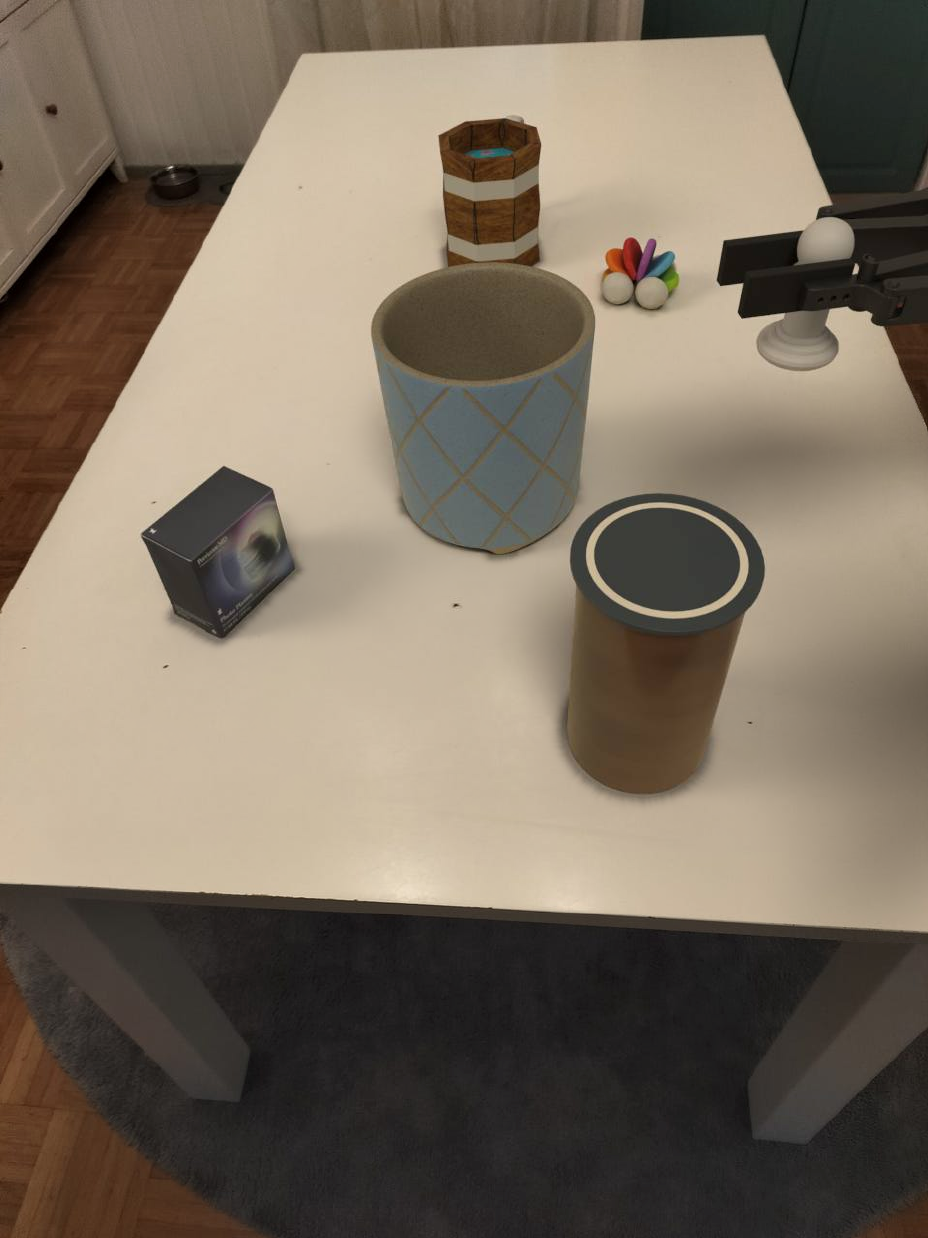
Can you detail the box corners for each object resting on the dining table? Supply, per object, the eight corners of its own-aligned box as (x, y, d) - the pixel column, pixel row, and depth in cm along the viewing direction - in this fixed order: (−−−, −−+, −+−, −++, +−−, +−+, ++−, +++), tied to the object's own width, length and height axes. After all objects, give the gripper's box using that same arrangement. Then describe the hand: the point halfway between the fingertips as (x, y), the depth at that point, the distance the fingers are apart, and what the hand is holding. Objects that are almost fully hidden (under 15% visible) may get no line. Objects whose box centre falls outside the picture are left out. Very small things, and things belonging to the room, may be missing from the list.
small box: (224, 643, 79) (190, 562, 71) (172, 615, 82) (134, 534, 74) (299, 568, 85) (275, 486, 77) (249, 544, 87) (221, 462, 79)
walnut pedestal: (734, 757, 69) (793, 586, 54) (614, 817, 66) (641, 656, 51) (653, 659, 76) (685, 482, 60) (542, 710, 73) (545, 539, 57)
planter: (359, 512, 89) (324, 338, 74) (471, 414, 99) (461, 241, 83) (512, 591, 81) (508, 414, 66) (619, 477, 91) (638, 298, 75)
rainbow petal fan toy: (610, 272, 116) (614, 217, 111) (683, 282, 114) (691, 227, 108) (592, 305, 112) (596, 250, 106) (668, 317, 109) (676, 261, 103)
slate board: (805, 589, 54) (807, 583, 53) (638, 665, 51) (639, 660, 50) (687, 475, 61) (688, 470, 60) (535, 536, 58) (535, 531, 57)
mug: (526, 286, 115) (525, 167, 104) (429, 274, 119) (419, 158, 107) (564, 216, 127) (568, 103, 116) (475, 207, 130) (470, 96, 119)
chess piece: (829, 329, 61) (867, 199, 54) (842, 374, 58) (885, 241, 51) (750, 329, 62) (778, 200, 55) (759, 373, 58) (790, 242, 52)
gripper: (1139, 355, 54) (767, 406, 53) (996, 230, 64) (684, 270, 63) (1213, 236, 48) (797, 290, 47) (1043, 120, 59) (699, 161, 57)
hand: (733, 279), depth 55 cm, fingers closed on chess piece, 3 cm apart
